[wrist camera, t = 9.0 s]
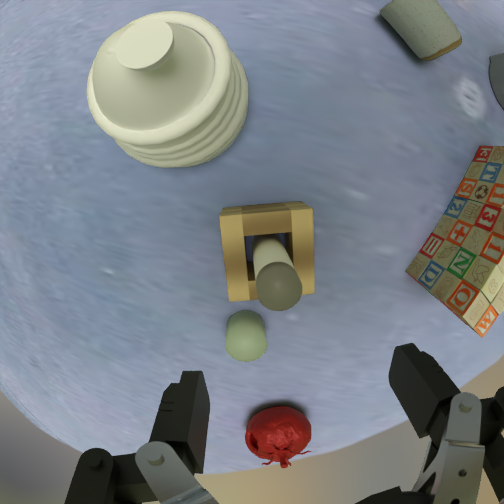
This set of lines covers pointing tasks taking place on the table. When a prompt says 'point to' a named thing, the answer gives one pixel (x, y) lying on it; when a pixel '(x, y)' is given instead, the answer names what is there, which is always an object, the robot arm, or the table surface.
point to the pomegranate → (278, 434)
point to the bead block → (266, 222)
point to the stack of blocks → (469, 246)
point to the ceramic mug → (423, 27)
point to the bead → (245, 336)
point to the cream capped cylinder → (274, 273)
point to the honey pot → (169, 90)
